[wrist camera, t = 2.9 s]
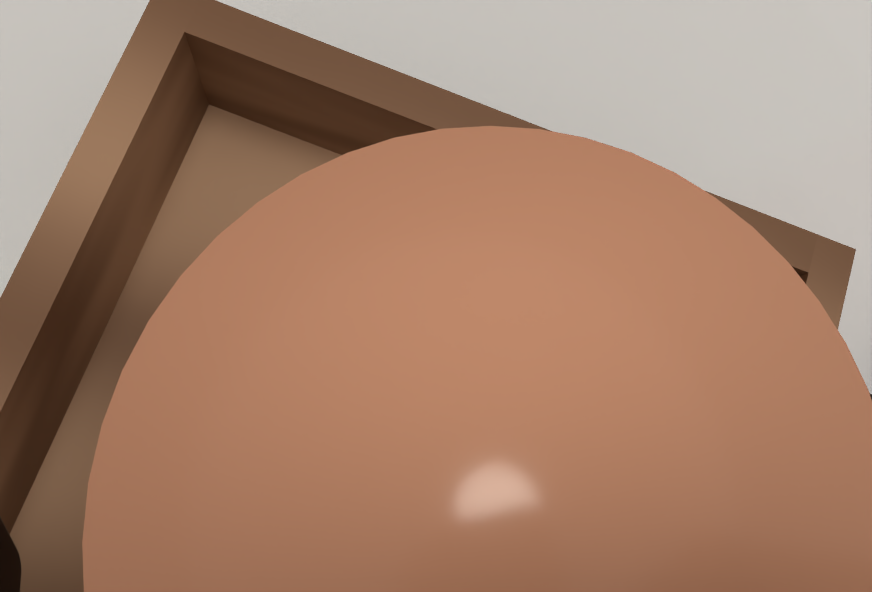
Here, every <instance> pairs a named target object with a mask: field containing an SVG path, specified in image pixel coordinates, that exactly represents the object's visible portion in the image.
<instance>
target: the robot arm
mask: <svg viewBox="0 0 872 592" xmlns="http://www.w3.org/2000/svg"><path fill="white" fill-rule="evenodd" d="M869 394H870V393H869ZM870 397H871V400H872V394H870ZM21 571H22V570H21V560H20V555H19V552H18V550H17V548H16V546H15V544H14V542H13V540H12V538H11V536H10V534H9V532H8V530H7V528H6V526H5V524H4V523H3V521H2V519H1V517H0V592H20V586H21Z"/></svg>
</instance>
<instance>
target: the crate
mask: <svg viewBox="0 0 872 592" xmlns="http://www.w3.org/2000/svg"><path fill="white" fill-rule="evenodd" d="M479 126H501V127H516V128H532V129H541V130H547V129H545V128H542V127H539V126H537V125H534V124H532V123H529V122H527V121H524V120H521V119H519V118H516V117H514V116H511V115H509V114H506V113H503V112H501V111H498V110H496V109H493V108H491V107H488V106H485V105H483V104H480V103H478V102H475V101H473V100H470V99H467V98H465V97H462V96H460V95H457V94H455V93H452V92H449V91H447V90H444V89H442V88H439V87H437V86H434V85H431V84H429V83H426V82H424V81H421V80H419V79H416V78H413V77H411V76H408V75H406V74H403V73H401V72H398V71H395V70H393V69H390V68H388V67H385V66H382V65H380V64H377V63H375V62H372V61H370V60H367V59H364V58H362V57H359V56H357V55H354V54H352V53H349V52H346V51H344V50H341V49H339V48H336V47H334V46H331V45H328V44H326V43H323V42H321V41H318V40H316V39H313V38H310V37H308V36H305V35H303V34H300V33H298V32H295V31H292V30H290V29H287V28H285V27H282V26H280V25H277V24H274V23H272V22H269V21H267V20H264V19H262V18H259V17H256V16H254V15H251V14H249V13H246V12H244V11H241V10H238V9H236V8H233V7H231V6H228V5H226V4H223V3H220V2H218V1H215V0H150V1H149V3H148V5H147V7H146V9H145V11H144V13H143V15H142V17H141V19H140V21H139V23H138V25H137V27H136V29H135V31H134V33H133V35H132V37H131V39H130V41H129V43H128V45H127V47H126V49H125V51H124V53H123V55H122V57H121V59H120V61H119V63H118V65H117V67H116V69H115V71H114V73H113V75H112V77H111V79H110V81H109V83H108V85H107V87H106V89H105V91H104V93H103V95H102V97H101V99H100V101H99V103H98V105H97V107H96V109H95V111H94V113H93V115H92V117H91V119H90V121H89V123H88V125H87V127H86V129H85V131H84V133H83V135H82V137H81V139H80V141H79V143H78V145H77V147H76V149H75V150H74V152H73V154H72V156H71V158H70V160H69V162H68V164H67V166H66V168H65V170H64V172H63V174H62V176H61V178H60V180H59V182H58V184H57V186H56V188H55V190H54V192H53V194H52V196H51V198H50V200H49V202H48V204H47V206H46V208H45V210H44V212H43V214H42V216H41V218H40V220H39V222H38V224H37V226H36V228H35V230H34V232H33V234H32V236H31V238H30V240H29V242H28V244H27V246H26V248H25V250H24V252H23V254H22V256H21V258H20V260H19V262H18V264H17V266H16V268H15V270H14V272H13V274H12V276H11V278H10V280H9V282H8V284H7V286H6V288H5V290H4V292H3V294H2V296H1V298H0V517H1V519H2V521H3V523H4V524H5V526H6V528H7V530H8V532H9V534H10V536H11V538H12V540H13V542H14V544H15V546H16V548H17V550H18V552H19V555H20V560H21V570H22V571H21V586H20V592H84V582H83V551H82V540H83V530H84V520H85V510H86V500H87V490H88V481H89V477H90V473H91V468H92V464H93V460H94V456H95V451H96V447H97V443H98V438H99V434H100V430H101V426H102V423H103V420H104V417H105V415H106V412H107V409H108V407H109V404H110V401H111V399H112V396H113V393H114V391H115V388H116V385H117V383H118V380H119V377H120V375H121V372H122V370H123V368H124V366H125V364H126V362H127V360H128V359H129V357H130V355H131V353H132V351H133V349H134V347H135V345H136V343H137V342H138V340H139V338H140V336H141V334H142V332H143V330H144V328H145V327H146V325H147V323H148V321H149V319H150V318H151V317H152V315H153V314H154V312H155V311H156V310H157V308H158V307H159V305H160V304H161V303H162V301H163V300H164V298H165V297H166V296H167V294H168V293H169V291H170V290H171V288H172V287H173V286H174V284H175V283H176V281H177V280H178V279H179V277H180V276H181V275H182V274H183V272H184V271H185V270H186V269H187V268H188V267H189V266H190V265H191V264H192V263H193V262H194V261H195V260H196V258H197V257H198V256H199V255H200V254H201V253H202V252H203V251H204V250H205V249H206V248H207V247H208V245H209V244H210V243H211V242H212V241H213V240H214V239H215V238H216V237H217V236H218V235H219V234H220V233H221V232H223V231H224V230H225V229H226V228H227V227H229V226H230V225H231V224H232V223H233V222H235V221H236V220H237V219H238V218H239V217H241V216H242V215H243V214H244V213H245V212H247V211H248V210H249V209H250V208H251V207H253V206H254V205H255V204H256V203H257V202H259V201H260V200H262V199H263V198H265V197H267V196H268V195H270V194H271V193H273V192H274V191H276V190H278V189H279V188H281V187H282V186H284V185H285V184H287V183H289V182H290V181H292V180H293V179H295V178H296V177H298V176H300V175H301V174H303V173H305V172H307V171H310V170H312V169H314V168H316V167H318V166H320V165H322V164H324V163H327V162H329V161H331V160H333V159H335V158H337V157H339V156H341V155H344V154H346V153H348V152H351V151H354V150H358V149H361V148H364V147H367V146H370V145H373V144H376V143H379V142H382V141H385V140H388V139H392V138H395V137H400V136H406V135H411V134H416V133H422V132H427V131H432V130H438V129H445V128H462V127H479ZM547 131H550V130H547ZM705 192H707V191H705ZM707 193H709V192H707ZM709 194H710V195H712V196H714V197H715V198H717V199H718V200H719V201H720V202H722V203H723V204H724V205H725V206H727V207H728V208H729V209H731V210H732V211H733V212H734V213H736V214H737V215H738V216H739V217H741V218H742V219H743V220H745V221H746V222H747V223H748V224H750V225H751V226H752V227H753V228H754V229H755V230H756V231H757V232H758V233H759V234H761V235H762V236H763V237H764V238H765V239H766V240H767V241H768V242H769V243H770V244H771V245H772V246H773V247H774V248H775V249H776V250H777V251H778V252H779V253H780V254H781V255H782V256H783V257H784V258H785V259H786V260H787V261H788V262H789V264H790V265H791V266H792V267H793V269H794V270H795V271H796V272H797V274H798V275H799V276H800V277H801V279H802V280H803V281H804V282H805V284H806V285H807V286H808V287H809V289H810V290H811V291H812V292H813V294H814V295H815V296H816V297H817V299H818V300H819V301H820V303H821V304H822V306H823V308H824V309H825V311H826V312H827V314H828V316H829V317H830V319H831V320H832V322H833V324H834V325H835V327H836V328H837V330H838V326H839V321H840V317H841V312H842V308H843V304H844V299H845V295H846V290H847V286H848V282H849V277H850V273H851V268H852V264H853V260H854V255H855V251H856V249H853V248H851V247H848V246H846V245H843V244H841V243H838V242H835V241H833V240H830V239H828V238H825V237H823V236H820V235H817V234H815V233H812V232H810V231H807V230H805V229H802V228H799V227H797V226H794V225H792V224H789V223H786V222H784V221H781V220H779V219H776V218H774V217H771V216H768V215H766V214H763V213H761V212H758V211H756V210H753V209H750V208H748V207H745V206H743V205H740V204H738V203H735V202H732V201H730V200H727V199H725V198H722V197H720V196H717V195H714V194H712V193H709Z"/></svg>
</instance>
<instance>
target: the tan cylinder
mask: <svg viewBox="0 0 872 592" xmlns="http://www.w3.org/2000/svg"><path fill="white" fill-rule="evenodd" d="M82 551H83V582H84V592H872V400H871V397H870V394H869V391H868V388H867V386H866V384H865V382H864V380H863V378H862V376H861V374H860V372H859V370H858V368H857V365H856V363H855V361H854V359H853V357H852V355H851V353H850V351H849V349H848V347H847V345H846V343H845V341H844V340H843V338H842V336H841V335H840V333H839V332H838V330H837V328H836V327H835V325H834V324H833V322H832V320H831V319H830V317H829V316H828V314H827V312H826V311H825V309H824V308H823V306H822V304H821V303H820V301H819V300H818V299H817V297H816V296H815V295H814V294H813V292H812V291H811V290H810V289H809V287H808V286H807V285H806V284H805V282H804V281H803V280H802V279H801V277H800V276H799V275H798V274H797V272H796V271H795V270H794V269H793V267H792V266H791V265H790V264H789V262H788V261H787V260H786V259H785V258H784V257H783V256H782V255H781V254H780V253H779V252H778V251H777V250H776V249H775V248H774V247H773V246H772V245H771V244H770V243H769V242H768V241H767V240H766V239H765V238H764V237H763V236H762V235H761V234H759V233H758V232H757V231H756V230H755V229H754V228H753V227H752V226H751V225H750V224H748V223H747V222H746V221H745V220H743V219H742V218H741V217H739V216H738V215H737V214H736V213H734V212H733V211H732V210H731V209H729V208H728V207H727V206H725V205H724V204H723V203H722V202H720V201H719V200H718V199H717V198H715V197H714V196H712V195H710V194H709V193H707V192H705V191H704V190H702V189H701V188H699V187H697V186H696V185H694V184H692V183H691V182H689V181H687V180H686V179H684V178H683V177H681V176H679V175H678V174H676V173H674V172H672V171H670V170H668V169H666V168H663V167H661V166H659V165H657V164H655V163H653V162H650V161H648V160H646V159H644V158H642V157H640V156H637V155H635V154H633V153H631V152H628V151H625V150H622V149H618V148H615V147H612V146H609V145H606V144H603V143H600V142H597V141H593V140H590V139H587V138H583V137H578V136H573V135H568V134H562V133H557V132H552V131H547V130H541V129H532V128H516V127H501V126H479V127H462V128H445V129H438V130H432V131H427V132H422V133H416V134H411V135H406V136H400V137H395V138H392V139H388V140H385V141H382V142H379V143H376V144H373V145H370V146H367V147H364V148H361V149H358V150H354V151H351V152H348V153H346V154H344V155H341V156H339V157H337V158H335V159H333V160H331V161H329V162H327V163H324V164H322V165H320V166H318V167H316V168H314V169H312V170H310V171H307V172H305V173H303V174H301V175H300V176H298V177H296V178H295V179H293V180H292V181H290V182H289V183H287V184H285V185H284V186H282V187H281V188H279V189H278V190H276V191H274V192H273V193H271V194H270V195H268V196H267V197H265V198H263V199H262V200H260V201H259V202H257V203H256V204H255V205H254V206H253V207H251V208H250V209H249V210H248V211H247V212H245V213H244V214H243V215H242V216H241V217H239V218H238V219H237V220H236V221H235V222H233V223H232V224H231V225H230V226H229V227H227V228H226V229H225V230H224V231H223V232H221V233H220V234H219V235H218V236H217V237H216V238H215V239H214V240H213V241H212V242H211V243H210V244H209V245H208V247H207V248H206V249H205V250H204V251H203V252H202V253H201V254H200V255H199V256H198V257H197V258H196V260H195V261H194V262H193V263H192V264H191V265H190V266H189V267H188V268H187V269H186V270H185V271H184V272H183V274H182V275H181V276H180V277H179V279H178V280H177V281H176V283H175V284H174V286H173V287H172V288H171V290H170V291H169V293H168V294H167V296H166V297H165V298H164V300H163V301H162V303H161V304H160V305H159V307H158V308H157V310H156V311H155V312H154V314H153V315H152V317H151V318H150V319H149V321H148V323H147V325H146V327H145V328H144V330H143V332H142V334H141V336H140V338H139V340H138V342H137V343H136V345H135V347H134V349H133V351H132V353H131V355H130V357H129V359H128V360H127V362H126V364H125V366H124V368H123V370H122V372H121V375H120V377H119V380H118V383H117V385H116V388H115V391H114V393H113V396H112V399H111V401H110V404H109V407H108V409H107V412H106V415H105V417H104V420H103V423H102V426H101V430H100V434H99V438H98V443H97V447H96V451H95V456H94V460H93V464H92V468H91V473H90V477H89V481H88V490H87V500H86V510H85V520H84V530H83V540H82Z"/></svg>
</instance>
